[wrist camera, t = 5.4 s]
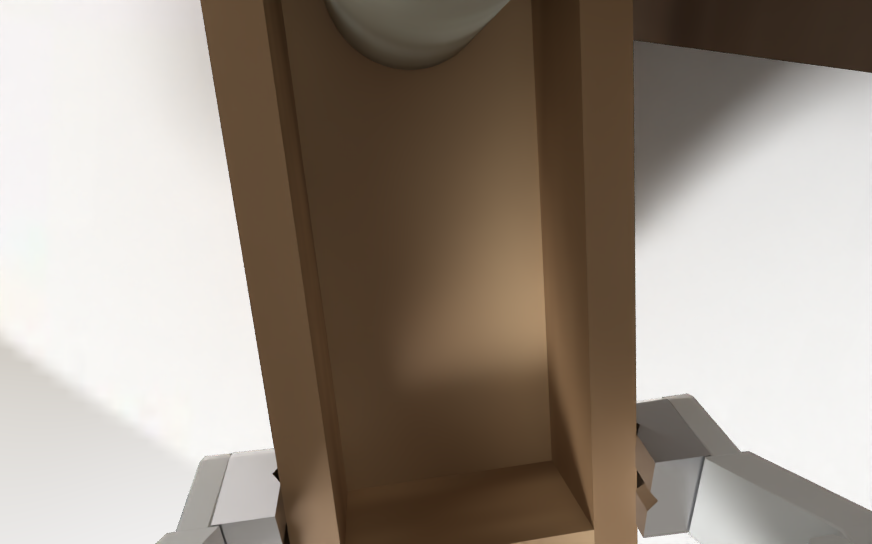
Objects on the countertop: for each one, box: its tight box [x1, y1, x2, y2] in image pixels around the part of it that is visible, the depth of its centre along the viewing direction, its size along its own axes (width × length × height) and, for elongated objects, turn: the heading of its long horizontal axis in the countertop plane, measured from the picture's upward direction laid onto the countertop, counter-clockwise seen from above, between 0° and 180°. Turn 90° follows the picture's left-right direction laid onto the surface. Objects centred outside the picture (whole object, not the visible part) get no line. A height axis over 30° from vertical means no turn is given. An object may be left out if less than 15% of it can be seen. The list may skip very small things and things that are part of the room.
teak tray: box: [200, 0, 637, 544], centre depth 8 cm, size 6×18×6 cm, turn 3°
